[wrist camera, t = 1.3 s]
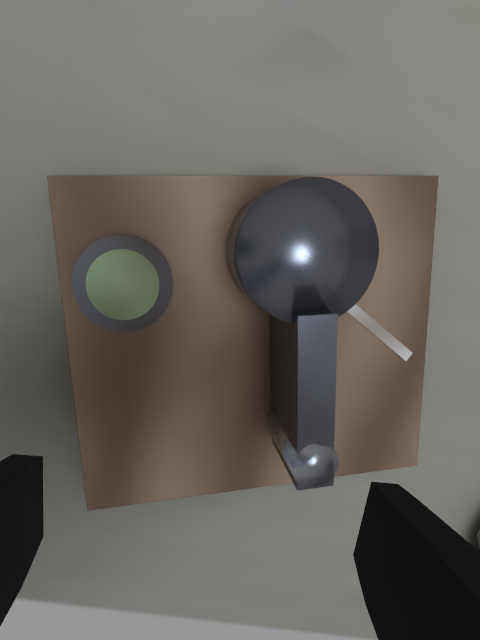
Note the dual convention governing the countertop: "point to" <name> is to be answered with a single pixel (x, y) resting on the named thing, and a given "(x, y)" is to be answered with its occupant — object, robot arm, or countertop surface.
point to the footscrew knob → (304, 305)
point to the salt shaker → (478, 537)
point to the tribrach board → (222, 335)
